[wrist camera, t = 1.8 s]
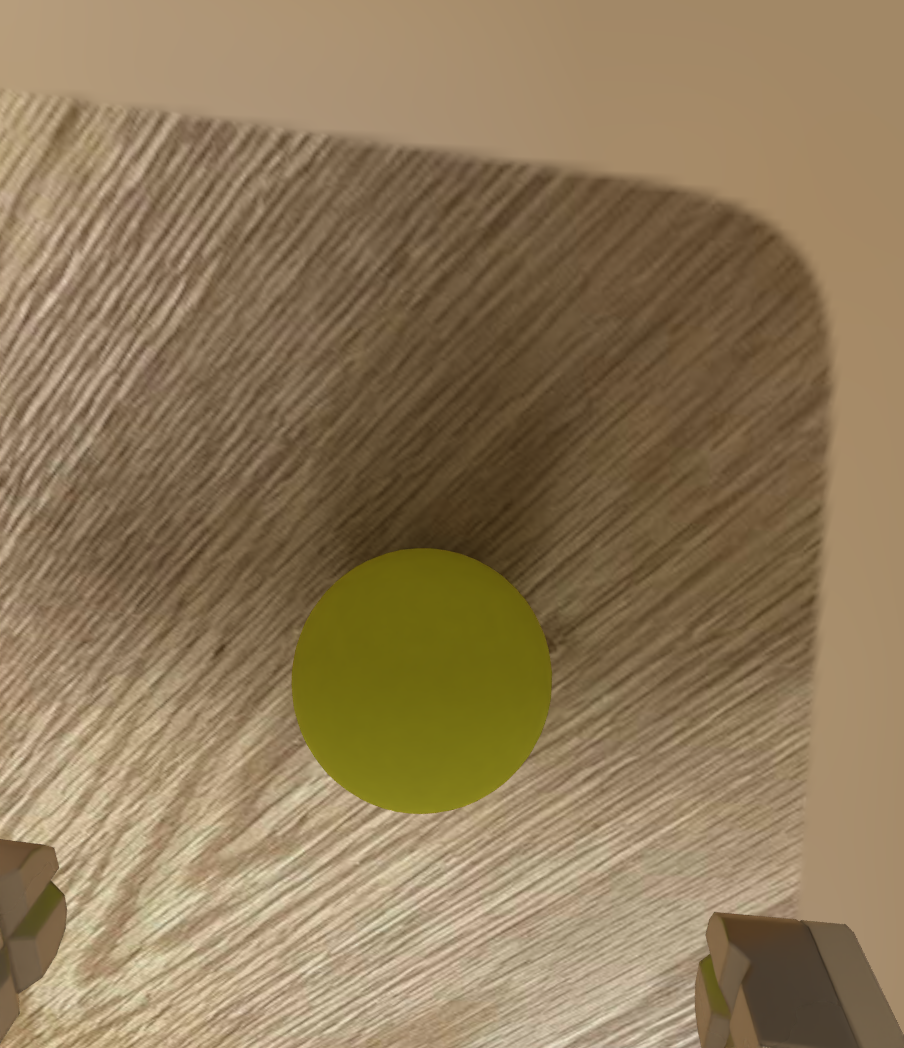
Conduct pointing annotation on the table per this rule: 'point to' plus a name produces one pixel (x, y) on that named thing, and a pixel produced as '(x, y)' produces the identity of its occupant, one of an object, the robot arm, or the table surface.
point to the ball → (421, 681)
